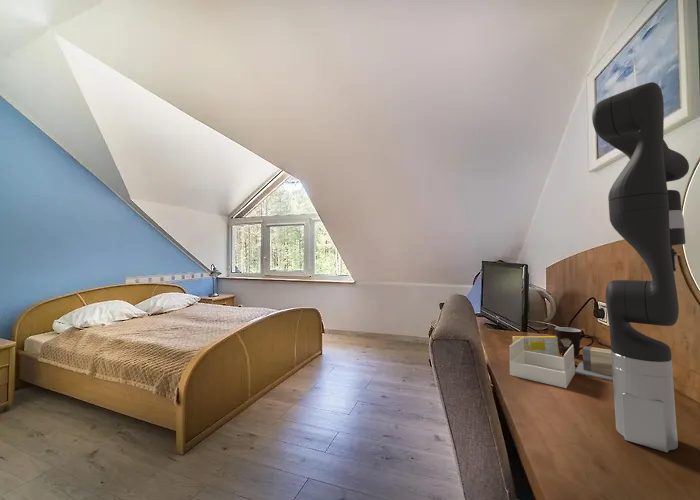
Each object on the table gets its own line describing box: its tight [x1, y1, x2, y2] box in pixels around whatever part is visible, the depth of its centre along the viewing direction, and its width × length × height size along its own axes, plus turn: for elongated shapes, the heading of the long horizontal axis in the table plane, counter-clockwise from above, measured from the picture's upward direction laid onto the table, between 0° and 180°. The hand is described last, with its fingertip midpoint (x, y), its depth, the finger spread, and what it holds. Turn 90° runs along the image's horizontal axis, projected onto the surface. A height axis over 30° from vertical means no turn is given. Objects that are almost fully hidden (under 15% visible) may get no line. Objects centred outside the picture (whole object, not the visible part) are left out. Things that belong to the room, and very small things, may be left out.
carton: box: [508, 337, 576, 389], centre depth 97 cm, size 16×15×10 cm
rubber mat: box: [574, 361, 613, 382], centre depth 97 cm, size 13×13×1 cm
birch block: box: [581, 345, 613, 375], centre depth 97 cm, size 4×9×7 cm, turn 45°
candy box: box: [512, 335, 560, 357], centre depth 114 cm, size 16×2×8 cm, turn 84°
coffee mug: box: [554, 326, 595, 356], centre depth 115 cm, size 12×9×10 cm
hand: (668, 286), depth 80 cm, fingers open, 8 cm apart
